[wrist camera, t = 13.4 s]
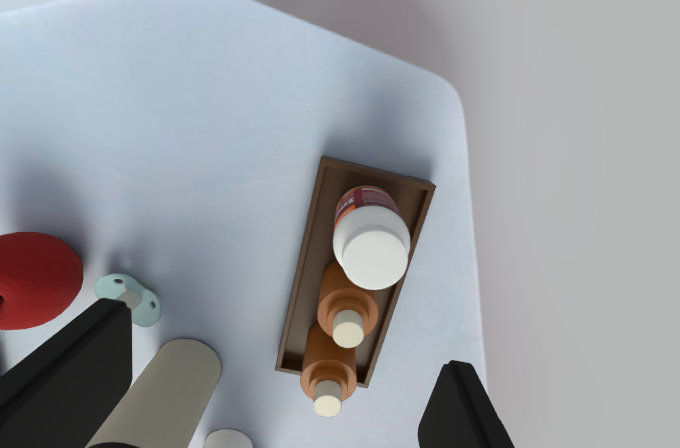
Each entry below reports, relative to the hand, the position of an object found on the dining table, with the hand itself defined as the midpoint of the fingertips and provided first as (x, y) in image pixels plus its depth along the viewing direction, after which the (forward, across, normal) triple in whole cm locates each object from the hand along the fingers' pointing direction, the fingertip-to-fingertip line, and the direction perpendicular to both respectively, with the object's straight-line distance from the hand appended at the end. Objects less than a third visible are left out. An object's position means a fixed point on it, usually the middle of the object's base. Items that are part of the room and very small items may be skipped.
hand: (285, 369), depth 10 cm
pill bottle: (+24, -4, +2) cm, 25 cm away
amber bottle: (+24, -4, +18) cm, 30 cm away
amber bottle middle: (+24, -4, +10) cm, 26 cm away
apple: (+25, +27, +15) cm, 39 cm away
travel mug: (+25, +12, +26) cm, 38 cm away
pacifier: (+25, +19, +18) cm, 36 cm away
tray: (+25, -4, +10) cm, 27 cm away
